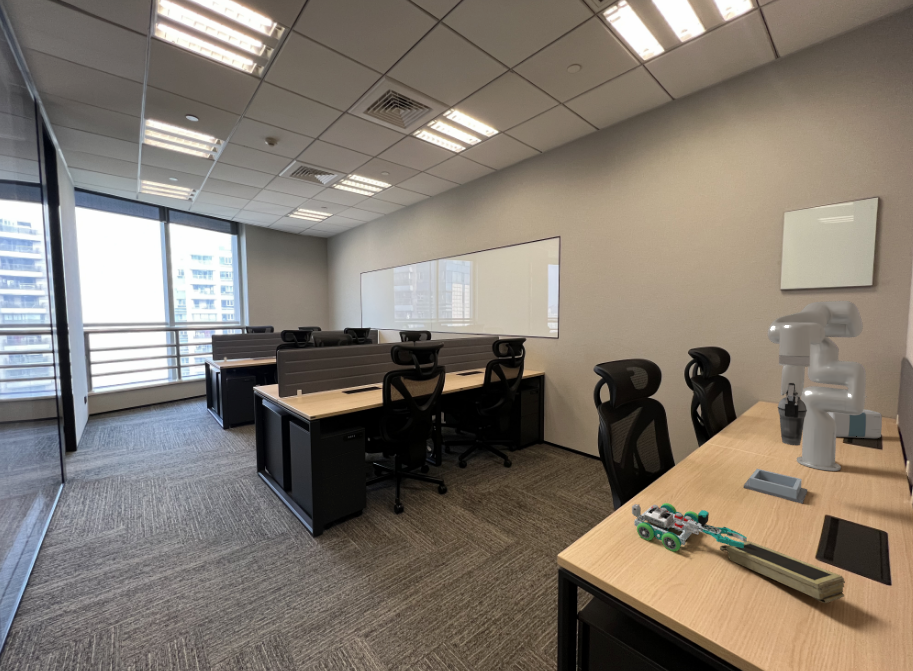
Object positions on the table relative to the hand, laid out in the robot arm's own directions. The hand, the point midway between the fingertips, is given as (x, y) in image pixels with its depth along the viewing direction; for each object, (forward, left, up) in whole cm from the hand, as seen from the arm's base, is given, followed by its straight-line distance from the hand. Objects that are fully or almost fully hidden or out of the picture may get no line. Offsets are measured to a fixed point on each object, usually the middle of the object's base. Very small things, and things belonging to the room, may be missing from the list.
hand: (792, 414), depth 121 cm
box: (+55, +3, -28) cm, 61 cm away
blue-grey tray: (-1, -4, -27) cm, 28 cm away
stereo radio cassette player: (-105, +10, -28) cm, 109 cm away
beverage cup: (0, 0, -10) cm, 10 cm away
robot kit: (+53, -14, -28) cm, 62 cm away
